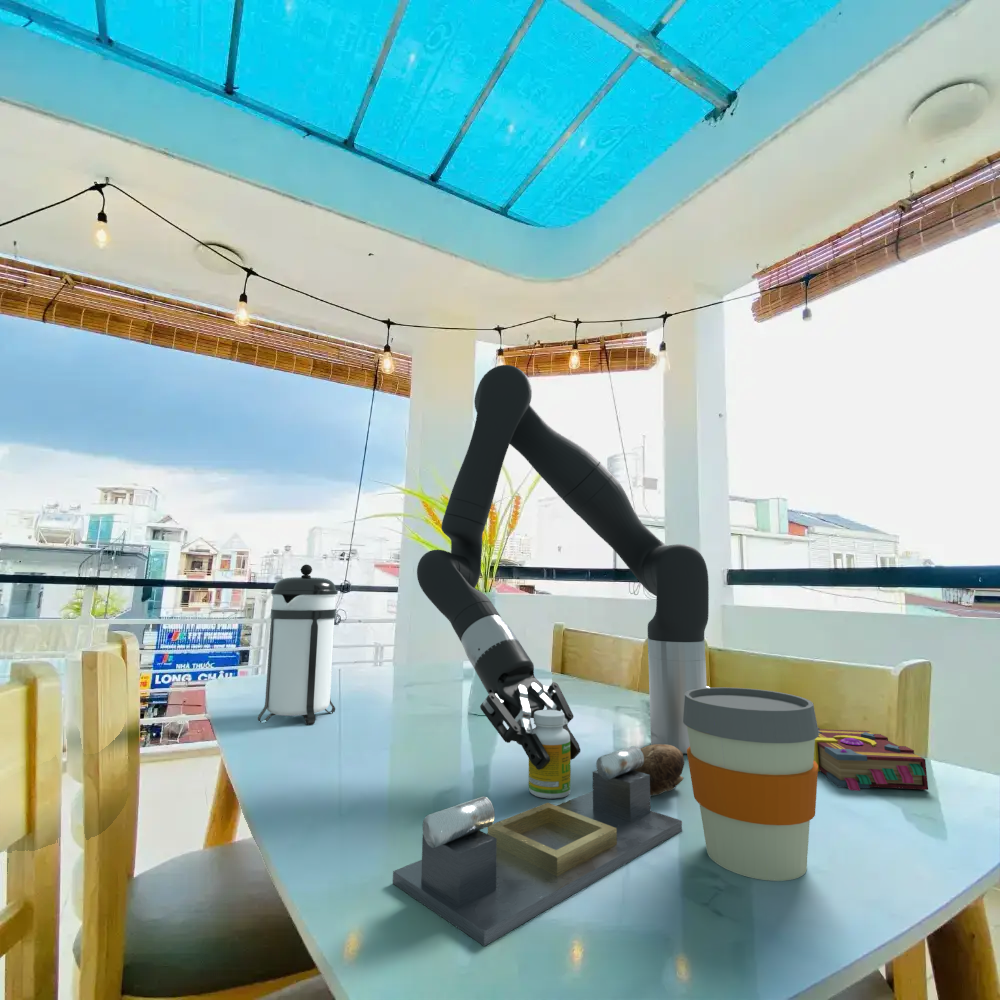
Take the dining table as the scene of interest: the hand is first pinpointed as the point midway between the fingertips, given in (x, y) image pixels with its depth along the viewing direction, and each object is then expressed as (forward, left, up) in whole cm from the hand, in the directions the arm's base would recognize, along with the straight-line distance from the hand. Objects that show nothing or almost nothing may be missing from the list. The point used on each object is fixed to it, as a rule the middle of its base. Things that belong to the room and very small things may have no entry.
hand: (560, 760), depth 72 cm
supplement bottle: (+1, -2, -4) cm, 5 cm away
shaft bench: (+9, +13, -4) cm, 16 cm away
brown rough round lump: (-12, +3, -5) cm, 14 cm away
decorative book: (-44, +9, -5) cm, 45 cm away
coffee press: (+27, -58, -4) cm, 64 cm away
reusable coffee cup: (-9, +22, -5) cm, 24 cm away
